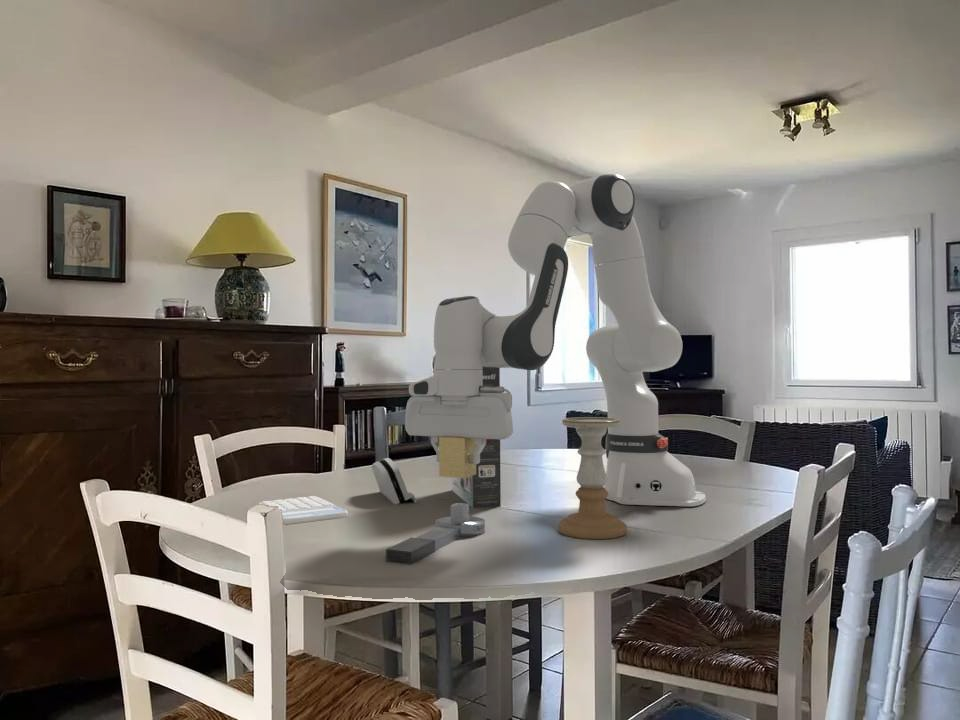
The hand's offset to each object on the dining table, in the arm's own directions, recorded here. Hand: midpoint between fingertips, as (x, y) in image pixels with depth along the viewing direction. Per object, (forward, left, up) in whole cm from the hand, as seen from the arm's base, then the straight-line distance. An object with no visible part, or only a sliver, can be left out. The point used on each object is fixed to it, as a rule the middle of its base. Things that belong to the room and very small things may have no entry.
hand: (458, 462), depth 132 cm
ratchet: (0, +9, -13) cm, 15 cm away
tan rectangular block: (0, 0, -2) cm, 2 cm away
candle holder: (-22, -9, -13) cm, 27 cm away
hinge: (+29, -25, -13) cm, 40 cm away
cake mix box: (+11, -31, -13) cm, 35 cm away
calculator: (+38, -4, -13) cm, 40 cm away
